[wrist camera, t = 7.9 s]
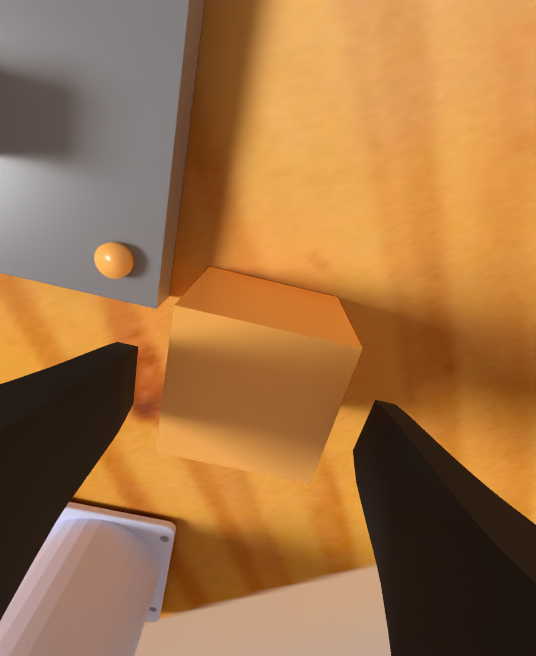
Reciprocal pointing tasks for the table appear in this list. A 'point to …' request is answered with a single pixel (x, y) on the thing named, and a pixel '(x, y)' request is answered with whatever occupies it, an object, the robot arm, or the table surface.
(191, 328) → the orange cube
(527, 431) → the table surface
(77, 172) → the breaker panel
